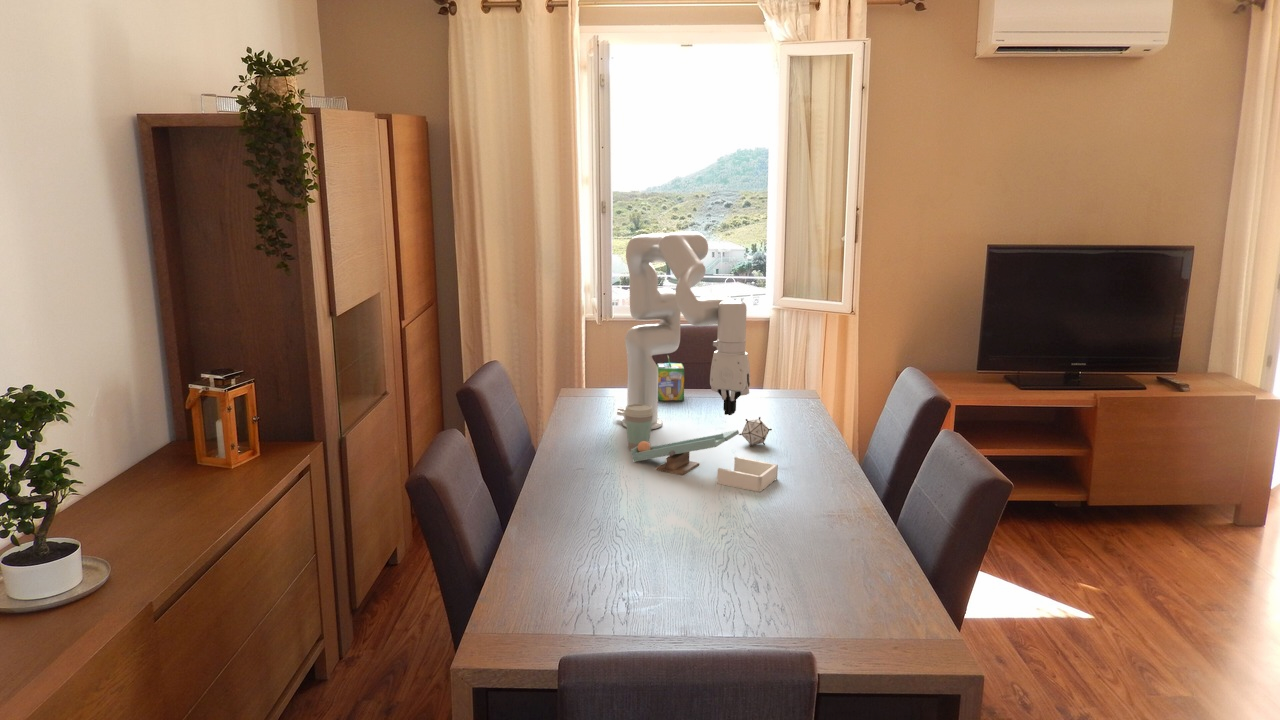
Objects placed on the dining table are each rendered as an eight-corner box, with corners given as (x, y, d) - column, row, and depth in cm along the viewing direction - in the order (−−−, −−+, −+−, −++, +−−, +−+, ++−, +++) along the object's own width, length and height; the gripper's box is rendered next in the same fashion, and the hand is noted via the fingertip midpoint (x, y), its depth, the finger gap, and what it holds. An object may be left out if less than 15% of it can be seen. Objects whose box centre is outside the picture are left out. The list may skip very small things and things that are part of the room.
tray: (717, 483, 246) (717, 468, 245) (735, 470, 256) (735, 456, 255) (760, 492, 240) (760, 477, 239) (777, 479, 250) (777, 464, 249)
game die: (760, 458, 278) (773, 438, 271) (733, 448, 277) (746, 427, 270) (763, 436, 284) (777, 416, 277) (737, 426, 284) (750, 405, 277)
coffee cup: (654, 443, 278) (655, 403, 276) (651, 452, 270) (652, 411, 267) (625, 441, 279) (626, 402, 276) (622, 450, 271) (622, 410, 268)
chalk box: (684, 401, 325) (685, 359, 321) (657, 401, 325) (658, 358, 321) (682, 394, 334) (683, 353, 330) (656, 394, 334) (657, 353, 330)
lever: (631, 463, 259) (627, 451, 259) (657, 448, 273) (654, 437, 272) (715, 448, 246) (711, 435, 245) (739, 433, 259) (735, 421, 259)
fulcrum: (656, 469, 255) (656, 456, 254) (673, 459, 264) (673, 446, 263) (682, 475, 251) (682, 461, 250) (699, 464, 260) (699, 451, 259)
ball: (636, 456, 261) (634, 443, 261) (642, 452, 264) (640, 440, 264) (647, 455, 259) (645, 442, 259) (653, 451, 262) (651, 439, 262)
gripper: (699, 346, 253) (698, 413, 256) (751, 352, 245) (749, 420, 249) (711, 342, 259) (710, 407, 263) (762, 347, 252) (760, 414, 256)
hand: (729, 413), depth 256 cm, fingers closed
